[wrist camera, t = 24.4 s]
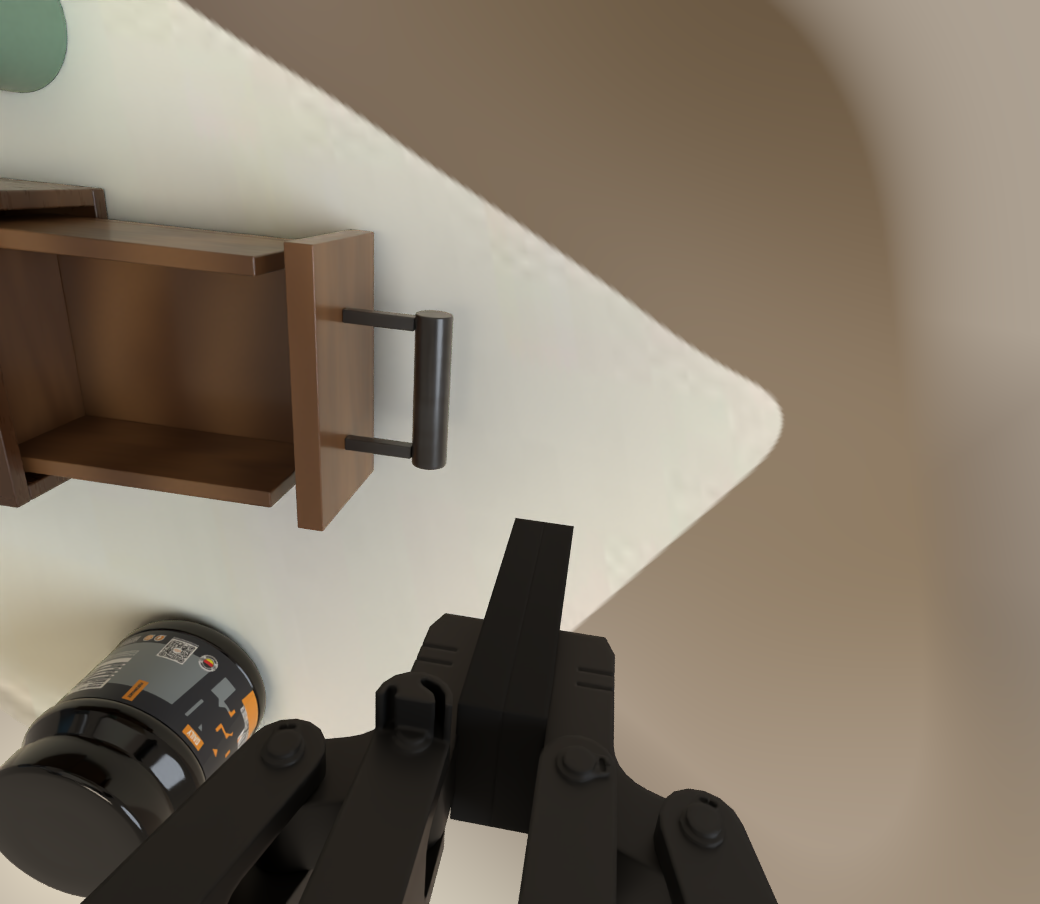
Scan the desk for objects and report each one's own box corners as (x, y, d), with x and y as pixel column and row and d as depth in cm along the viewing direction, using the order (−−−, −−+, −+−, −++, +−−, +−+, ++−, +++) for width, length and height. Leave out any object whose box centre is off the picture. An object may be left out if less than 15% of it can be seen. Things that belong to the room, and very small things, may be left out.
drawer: (474, 242, 31) (438, 258, 24) (460, 482, 35) (427, 547, 29) (49, 197, 32) (-85, 201, 26) (91, 431, 37) (-14, 481, 31)
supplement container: (241, 758, 47) (126, 935, 36) (107, 686, 46) (-52, 845, 35) (297, 665, 43) (187, 831, 32) (152, 583, 42) (-13, 726, 31)
